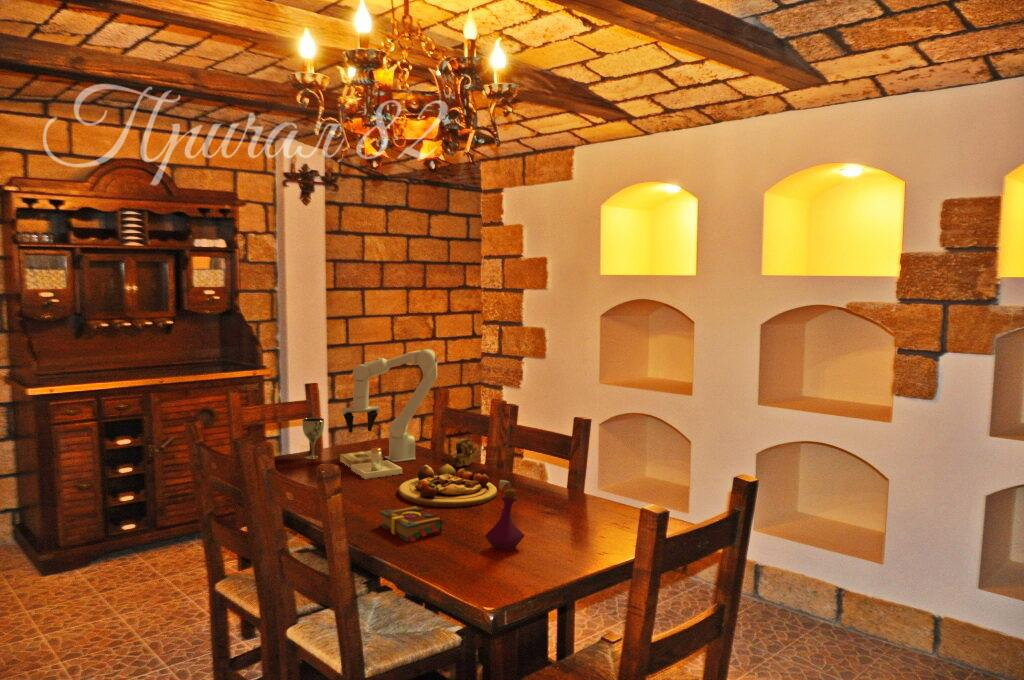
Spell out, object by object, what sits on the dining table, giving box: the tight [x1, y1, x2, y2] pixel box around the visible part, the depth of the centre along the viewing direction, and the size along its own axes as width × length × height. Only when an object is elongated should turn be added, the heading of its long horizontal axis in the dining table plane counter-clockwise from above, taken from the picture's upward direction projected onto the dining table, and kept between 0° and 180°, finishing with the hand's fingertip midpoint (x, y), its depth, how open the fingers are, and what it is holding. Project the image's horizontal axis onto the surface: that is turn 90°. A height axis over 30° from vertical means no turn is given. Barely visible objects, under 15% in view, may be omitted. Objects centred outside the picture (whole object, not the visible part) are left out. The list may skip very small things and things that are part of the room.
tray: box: [350, 459, 403, 480], centre depth 260 cm, size 14×13×2 cm
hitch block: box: [339, 450, 384, 469], centre depth 272 cm, size 12×12×3 cm
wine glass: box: [301, 417, 325, 459], centre depth 277 cm, size 8×8×15 cm
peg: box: [370, 447, 383, 472], centre depth 260 cm, size 4×4×8 cm
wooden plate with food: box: [398, 463, 498, 508], centre depth 238 cm, size 32×32×8 cm
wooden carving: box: [452, 438, 478, 468], centre depth 273 cm, size 16×5×10 cm, turn 162°
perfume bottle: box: [484, 479, 525, 552], centre depth 190 cm, size 8×8×18 cm
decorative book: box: [379, 505, 443, 543], centre depth 202 cm, size 11×16×5 cm
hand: (360, 431), depth 279 cm, fingers open, 7 cm apart
